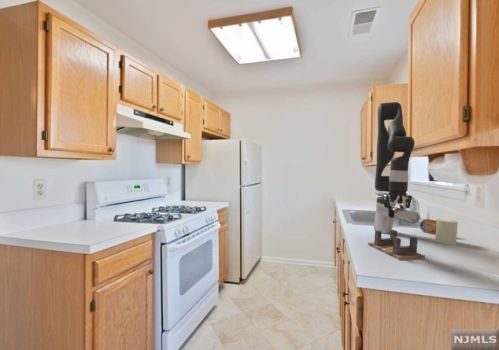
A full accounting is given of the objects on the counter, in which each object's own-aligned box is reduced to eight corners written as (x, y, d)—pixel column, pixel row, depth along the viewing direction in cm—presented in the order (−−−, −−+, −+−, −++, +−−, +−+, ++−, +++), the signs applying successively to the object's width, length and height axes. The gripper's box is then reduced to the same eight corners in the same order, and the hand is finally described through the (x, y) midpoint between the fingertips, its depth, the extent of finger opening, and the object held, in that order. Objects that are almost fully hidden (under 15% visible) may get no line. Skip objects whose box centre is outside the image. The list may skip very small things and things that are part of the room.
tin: (419, 231, 161) (420, 217, 161) (421, 230, 163) (422, 217, 162) (448, 237, 149) (449, 223, 148) (450, 237, 150) (451, 222, 150)
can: (457, 245, 134) (459, 222, 133) (435, 242, 139) (437, 219, 138) (455, 241, 142) (456, 219, 141) (434, 238, 147) (435, 216, 146)
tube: (376, 214, 131) (377, 203, 130) (385, 214, 132) (386, 204, 132) (408, 223, 111) (409, 211, 111) (419, 224, 112) (420, 212, 112)
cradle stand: (367, 245, 131) (368, 229, 130) (390, 244, 133) (391, 228, 133) (398, 260, 111) (399, 241, 111) (424, 258, 114) (425, 240, 113)
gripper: (405, 180, 126) (403, 215, 127) (379, 179, 123) (377, 216, 124) (418, 181, 118) (416, 219, 119) (390, 180, 115) (388, 219, 116)
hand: (396, 217), depth 121 cm, fingers closed on tube, 5 cm apart
